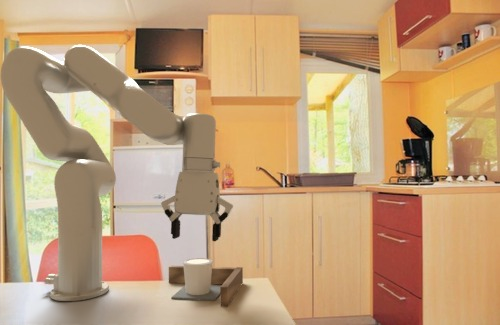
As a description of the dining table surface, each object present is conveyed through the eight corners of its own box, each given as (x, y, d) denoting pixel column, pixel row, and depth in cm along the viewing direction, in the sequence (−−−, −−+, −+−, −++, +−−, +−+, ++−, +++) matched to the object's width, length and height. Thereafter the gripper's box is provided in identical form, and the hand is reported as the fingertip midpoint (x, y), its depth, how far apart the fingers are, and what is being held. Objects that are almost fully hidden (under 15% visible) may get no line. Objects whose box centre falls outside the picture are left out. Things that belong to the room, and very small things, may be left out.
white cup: (178, 294, 84) (178, 263, 85) (190, 286, 91) (190, 257, 91) (206, 296, 83) (206, 265, 83) (216, 287, 89) (216, 258, 90)
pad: (171, 298, 83) (171, 297, 83) (186, 285, 93) (186, 284, 93) (214, 301, 81) (214, 299, 81) (225, 287, 91) (225, 285, 91)
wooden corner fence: (142, 302, 81) (142, 283, 81) (171, 280, 98) (171, 265, 98) (227, 306, 78) (227, 287, 78) (242, 283, 94) (242, 267, 95)
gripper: (237, 167, 90) (234, 238, 90) (169, 165, 93) (166, 234, 93) (230, 167, 83) (227, 244, 82) (157, 164, 86) (154, 239, 85)
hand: (195, 239), depth 87 cm, fingers open, 9 cm apart
